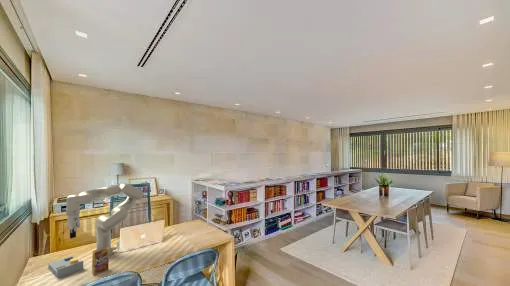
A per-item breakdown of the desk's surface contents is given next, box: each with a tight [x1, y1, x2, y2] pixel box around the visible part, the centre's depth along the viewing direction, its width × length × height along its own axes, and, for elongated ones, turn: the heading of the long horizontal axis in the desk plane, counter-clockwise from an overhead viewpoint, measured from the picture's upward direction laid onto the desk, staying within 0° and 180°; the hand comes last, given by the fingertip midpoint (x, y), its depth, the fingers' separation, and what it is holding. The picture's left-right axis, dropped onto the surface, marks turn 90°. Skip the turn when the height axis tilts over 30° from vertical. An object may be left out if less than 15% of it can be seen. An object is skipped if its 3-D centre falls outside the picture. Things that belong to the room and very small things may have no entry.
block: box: [70, 257, 79, 265], centre depth 157 cm, size 4×4×4 cm
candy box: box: [91, 247, 110, 276], centre depth 154 cm, size 9×4×15 cm, turn 140°
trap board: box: [47, 255, 84, 279], centre depth 158 cm, size 14×21×6 cm, turn 55°
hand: (72, 237), depth 162 cm, fingers closed
